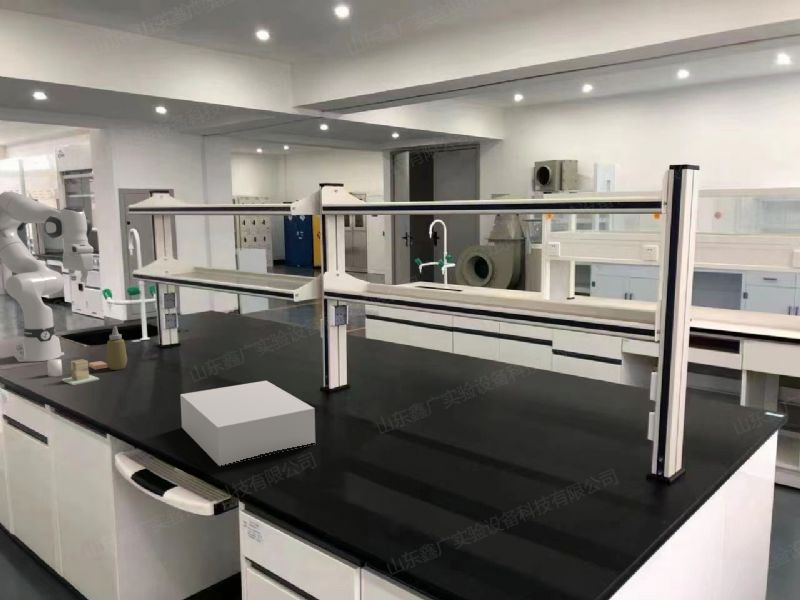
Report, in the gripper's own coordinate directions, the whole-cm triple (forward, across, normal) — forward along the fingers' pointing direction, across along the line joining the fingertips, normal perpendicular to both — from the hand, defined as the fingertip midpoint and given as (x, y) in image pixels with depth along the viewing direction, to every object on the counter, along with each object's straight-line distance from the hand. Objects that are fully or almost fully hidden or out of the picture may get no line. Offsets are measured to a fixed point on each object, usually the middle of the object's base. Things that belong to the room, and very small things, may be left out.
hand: (78, 281), depth 253 cm
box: (+37, +116, -4) cm, 122 cm away
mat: (+37, +17, -9) cm, 42 cm away
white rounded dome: (+37, +1, -12) cm, 39 cm away
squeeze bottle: (+37, +10, +9) cm, 39 cm away
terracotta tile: (+37, +1, +5) cm, 38 cm away
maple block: (+36, +17, -9) cm, 41 cm away
